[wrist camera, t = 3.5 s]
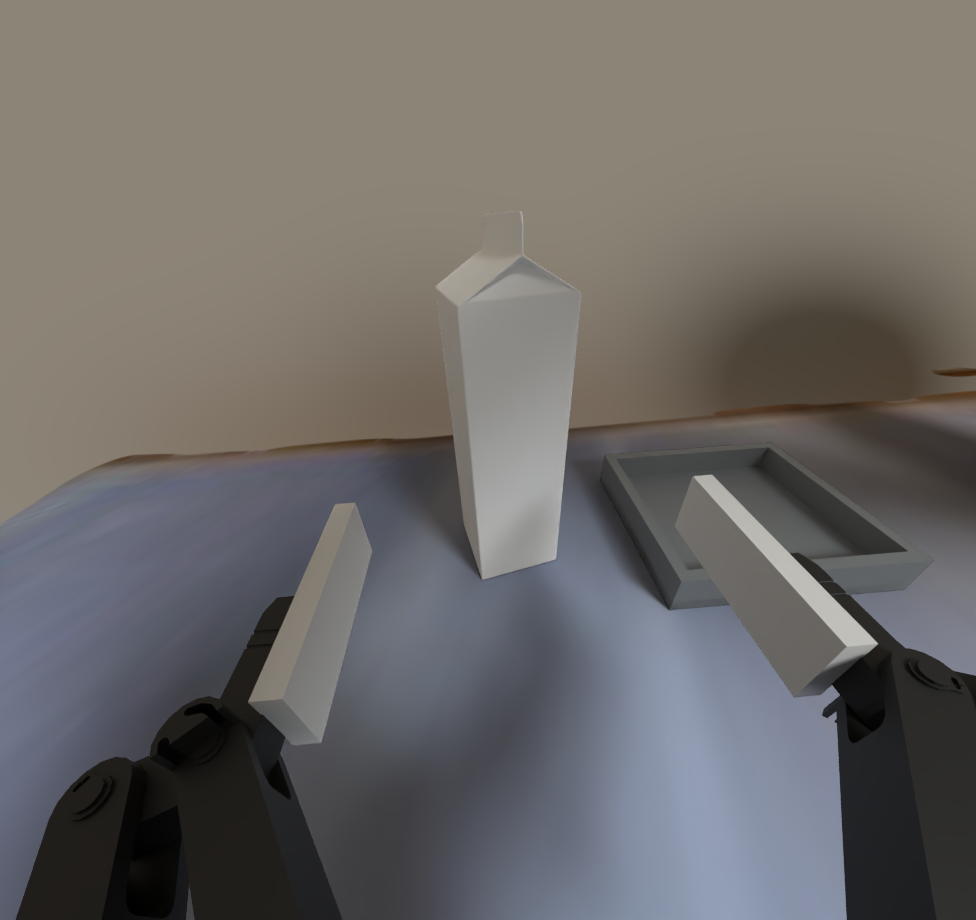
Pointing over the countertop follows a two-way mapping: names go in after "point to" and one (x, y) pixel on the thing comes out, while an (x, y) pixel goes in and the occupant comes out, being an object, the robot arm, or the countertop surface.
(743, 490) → the tray
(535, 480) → the milk
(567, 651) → the countertop surface
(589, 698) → the countertop surface
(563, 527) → the countertop surface
